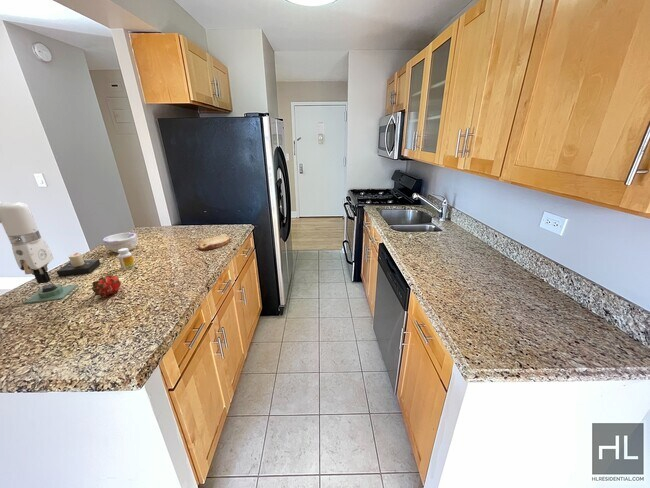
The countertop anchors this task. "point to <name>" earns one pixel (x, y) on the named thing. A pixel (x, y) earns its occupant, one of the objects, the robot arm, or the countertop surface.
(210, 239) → the bread slice
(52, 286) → the button
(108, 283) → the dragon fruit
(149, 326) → the countertop surface
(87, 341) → the countertop surface
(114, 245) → the paper bowls
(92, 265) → the panel
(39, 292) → the button box
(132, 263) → the supplement bottle
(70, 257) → the knob
